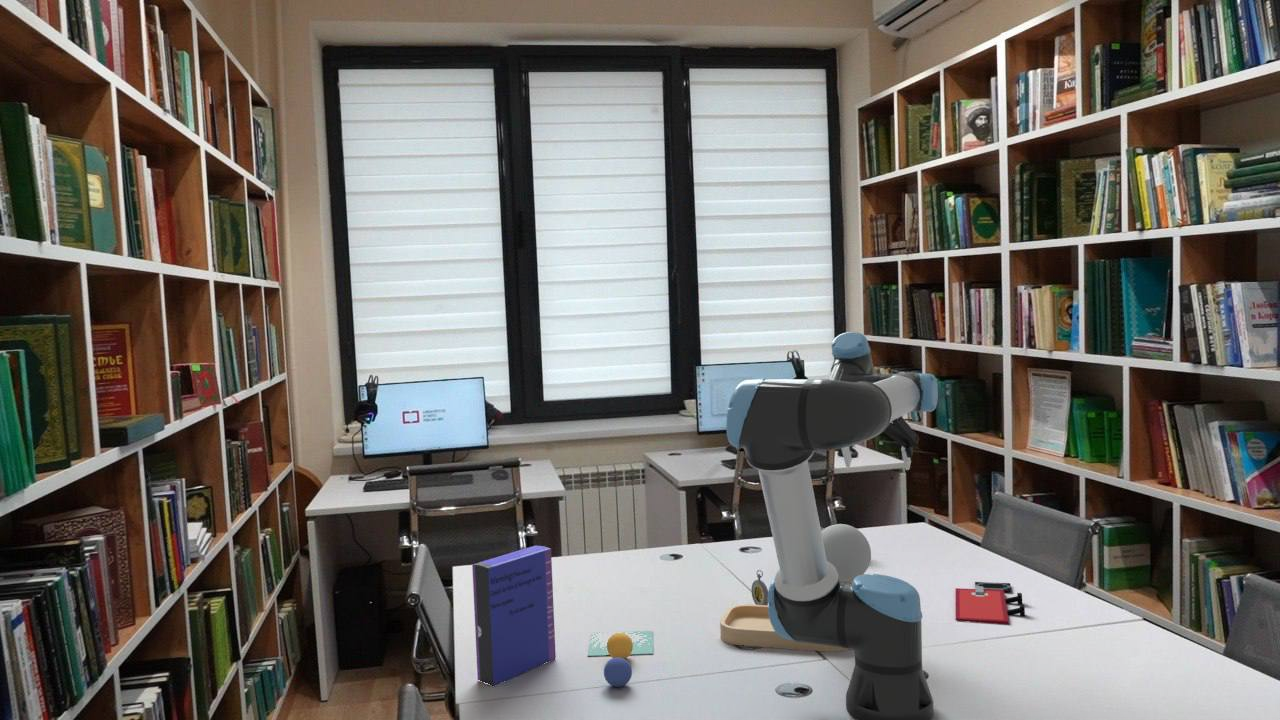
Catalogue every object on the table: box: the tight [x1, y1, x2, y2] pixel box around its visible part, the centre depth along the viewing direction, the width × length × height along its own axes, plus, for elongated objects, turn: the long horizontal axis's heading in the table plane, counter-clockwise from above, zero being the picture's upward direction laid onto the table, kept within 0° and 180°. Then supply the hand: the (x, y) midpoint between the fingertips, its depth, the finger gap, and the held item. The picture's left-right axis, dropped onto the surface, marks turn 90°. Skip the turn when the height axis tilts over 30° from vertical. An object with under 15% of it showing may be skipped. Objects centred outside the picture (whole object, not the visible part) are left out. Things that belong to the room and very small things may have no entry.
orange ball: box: [607, 633, 633, 660], centre depth 194 cm, size 6×6×6 cm
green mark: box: [587, 630, 654, 657], centre depth 203 cm, size 14×14×1 cm
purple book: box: [471, 545, 557, 687], centre depth 190 cm, size 17×5×24 cm, turn 141°
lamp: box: [719, 523, 872, 653], centre depth 204 cm, size 33×17×25 cm, turn 73°
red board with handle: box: [955, 581, 1026, 626], centre depth 222 cm, size 30×3×15 cm
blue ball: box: [603, 657, 633, 688], centre depth 180 cm, size 6×6×6 cm
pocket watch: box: [751, 569, 769, 605], centre depth 220 cm, size 8×8×10 cm
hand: (878, 464), depth 211 cm, fingers open, 13 cm apart
